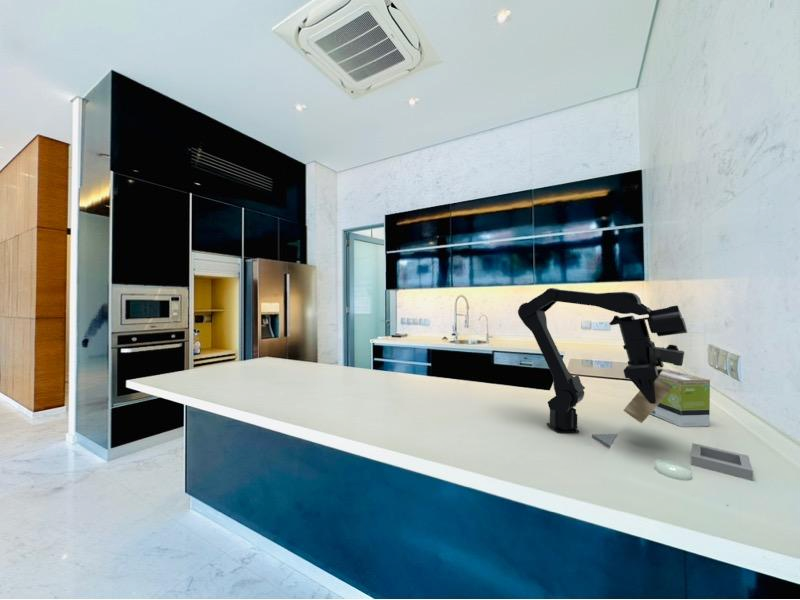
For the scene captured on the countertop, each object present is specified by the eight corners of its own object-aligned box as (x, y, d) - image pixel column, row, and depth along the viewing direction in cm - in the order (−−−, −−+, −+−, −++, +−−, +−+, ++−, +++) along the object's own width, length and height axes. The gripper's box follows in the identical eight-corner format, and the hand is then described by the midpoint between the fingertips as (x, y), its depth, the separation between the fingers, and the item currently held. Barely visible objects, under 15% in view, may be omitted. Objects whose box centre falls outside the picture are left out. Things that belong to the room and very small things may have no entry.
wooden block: (623, 410, 85) (651, 377, 81) (626, 406, 88) (653, 374, 85) (641, 423, 82) (671, 390, 79) (643, 418, 86) (672, 386, 82)
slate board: (630, 461, 78) (630, 458, 78) (591, 437, 92) (592, 434, 92) (686, 460, 78) (686, 457, 78) (640, 436, 92) (640, 433, 92)
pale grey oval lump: (671, 485, 68) (672, 472, 68) (648, 470, 74) (648, 459, 74) (699, 484, 68) (699, 472, 68) (673, 469, 74) (673, 458, 74)
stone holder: (691, 469, 74) (691, 455, 74) (692, 455, 81) (692, 443, 81) (752, 485, 68) (752, 470, 68) (748, 468, 75) (748, 455, 75)
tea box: (640, 411, 115) (640, 368, 115) (667, 410, 116) (667, 368, 116) (680, 427, 100) (681, 378, 100) (711, 427, 101) (711, 378, 101)
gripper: (673, 337, 73) (695, 409, 70) (678, 332, 87) (696, 392, 84) (615, 344, 80) (633, 410, 78) (628, 338, 94) (644, 394, 92)
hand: (654, 401), depth 83 cm, fingers closed on wooden block, 4 cm apart
